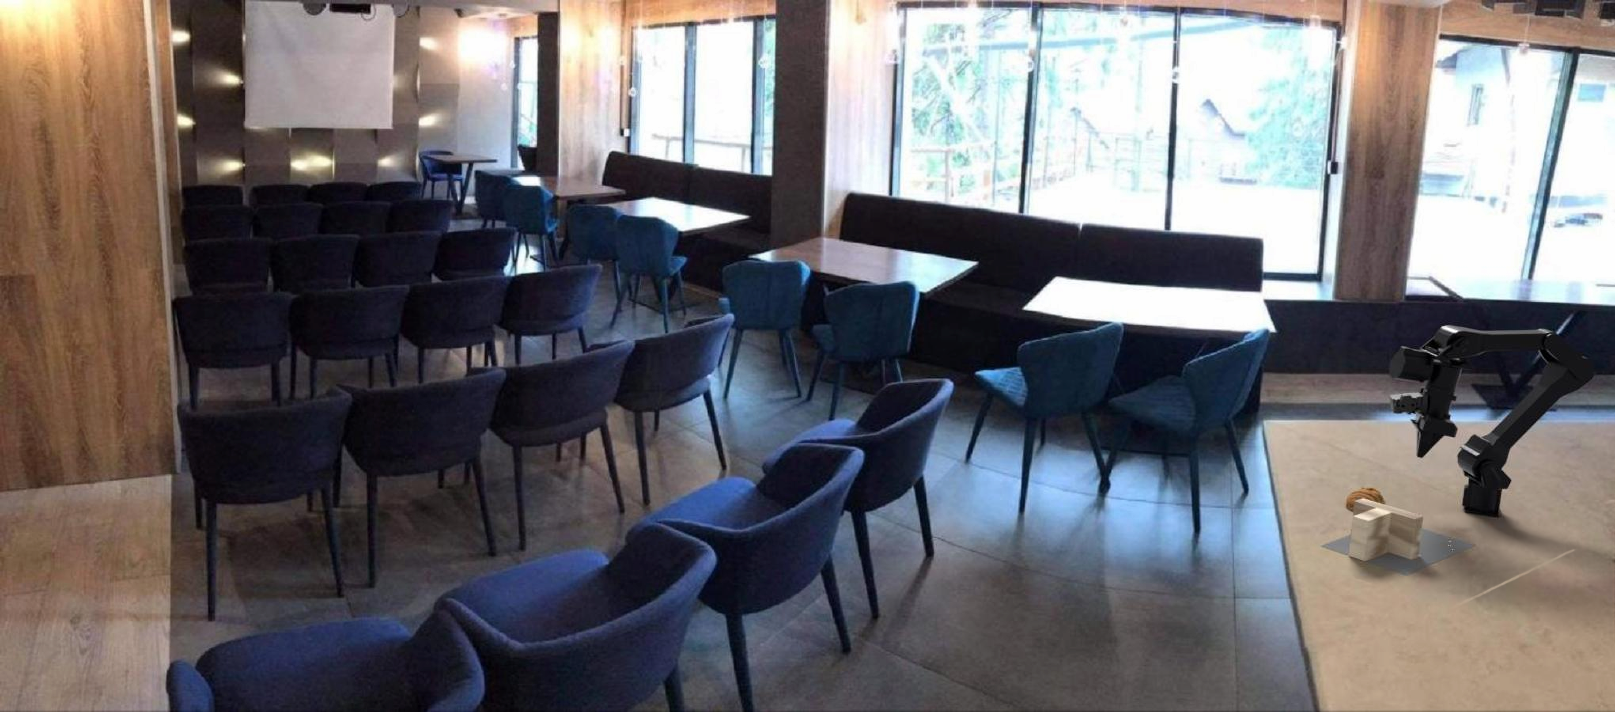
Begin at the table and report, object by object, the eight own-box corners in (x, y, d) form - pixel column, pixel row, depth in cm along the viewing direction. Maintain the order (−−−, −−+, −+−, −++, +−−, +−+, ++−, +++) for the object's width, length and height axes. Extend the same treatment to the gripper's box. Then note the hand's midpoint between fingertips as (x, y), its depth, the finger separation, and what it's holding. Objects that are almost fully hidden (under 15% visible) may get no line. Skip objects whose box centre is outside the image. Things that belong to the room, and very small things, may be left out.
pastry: (1369, 517, 243) (1371, 500, 242) (1336, 510, 248) (1338, 493, 247) (1386, 506, 250) (1388, 490, 249) (1354, 499, 254) (1355, 482, 254)
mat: (1391, 521, 241) (1391, 519, 241) (1475, 546, 227) (1476, 544, 227) (1320, 547, 227) (1320, 545, 226) (1405, 577, 213) (1406, 574, 213)
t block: (1358, 536, 231) (1362, 498, 230) (1418, 555, 222) (1423, 516, 220) (1326, 548, 225) (1331, 509, 223) (1387, 568, 216) (1391, 528, 214)
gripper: (1390, 369, 252) (1370, 437, 256) (1408, 386, 234) (1386, 459, 238) (1446, 381, 249) (1425, 449, 253) (1468, 399, 232) (1445, 472, 235)
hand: (1419, 457), depth 245 cm, fingers closed
